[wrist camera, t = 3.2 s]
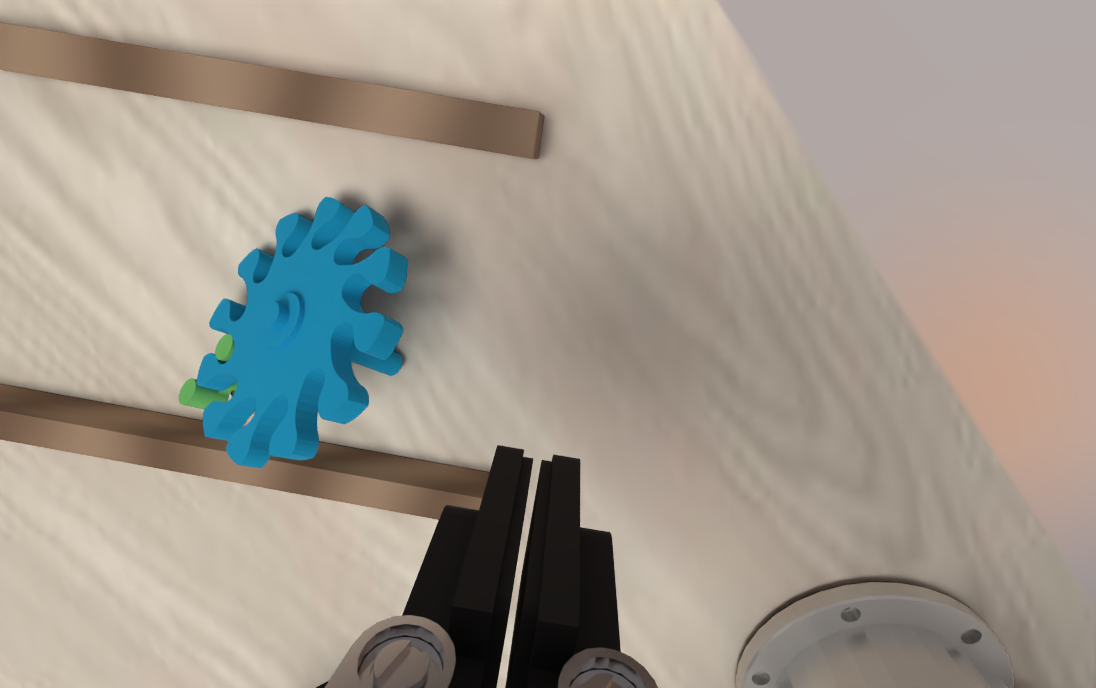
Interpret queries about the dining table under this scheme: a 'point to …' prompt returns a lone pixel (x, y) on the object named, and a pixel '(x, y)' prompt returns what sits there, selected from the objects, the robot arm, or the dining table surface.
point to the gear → (299, 336)
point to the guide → (285, 96)
